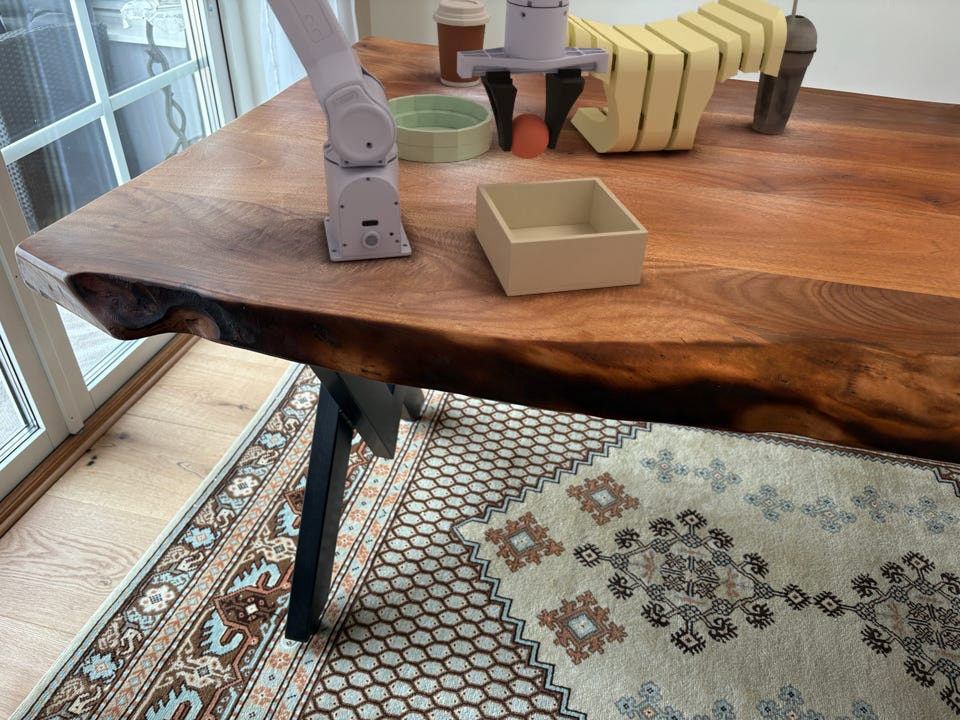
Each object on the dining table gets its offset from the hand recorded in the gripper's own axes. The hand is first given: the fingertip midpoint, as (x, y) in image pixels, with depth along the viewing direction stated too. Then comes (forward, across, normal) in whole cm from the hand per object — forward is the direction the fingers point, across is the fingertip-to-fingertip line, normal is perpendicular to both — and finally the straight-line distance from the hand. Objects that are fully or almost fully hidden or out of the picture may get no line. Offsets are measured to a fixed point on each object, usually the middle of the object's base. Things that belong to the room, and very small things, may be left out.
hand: (527, 147), depth 78 cm
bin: (+9, -1, +7) cm, 12 cm away
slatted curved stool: (+9, -24, -24) cm, 35 cm away
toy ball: (+1, 0, 0) cm, 1 cm away
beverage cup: (+9, -46, -25) cm, 53 cm away
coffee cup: (+9, -6, -55) cm, 56 cm away
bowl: (+9, +4, -26) cm, 28 cm away
